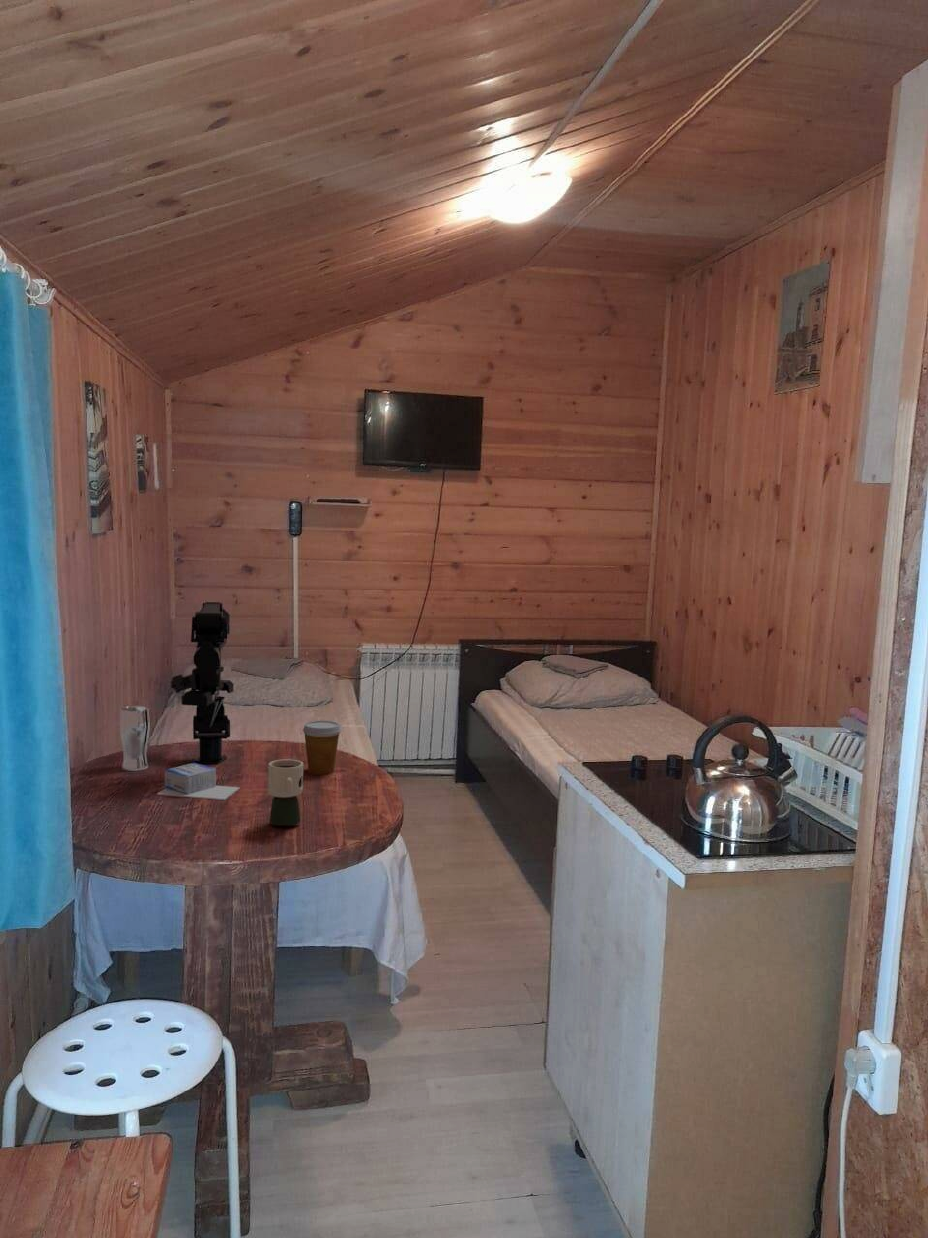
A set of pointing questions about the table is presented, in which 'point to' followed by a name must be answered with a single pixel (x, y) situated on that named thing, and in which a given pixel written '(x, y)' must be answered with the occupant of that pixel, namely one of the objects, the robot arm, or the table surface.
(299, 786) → the character mug
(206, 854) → the table surface
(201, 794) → the mat
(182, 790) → the medicine box
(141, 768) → the beer glass
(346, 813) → the table surface
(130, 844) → the table surface
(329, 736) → the disposable coffee cup
